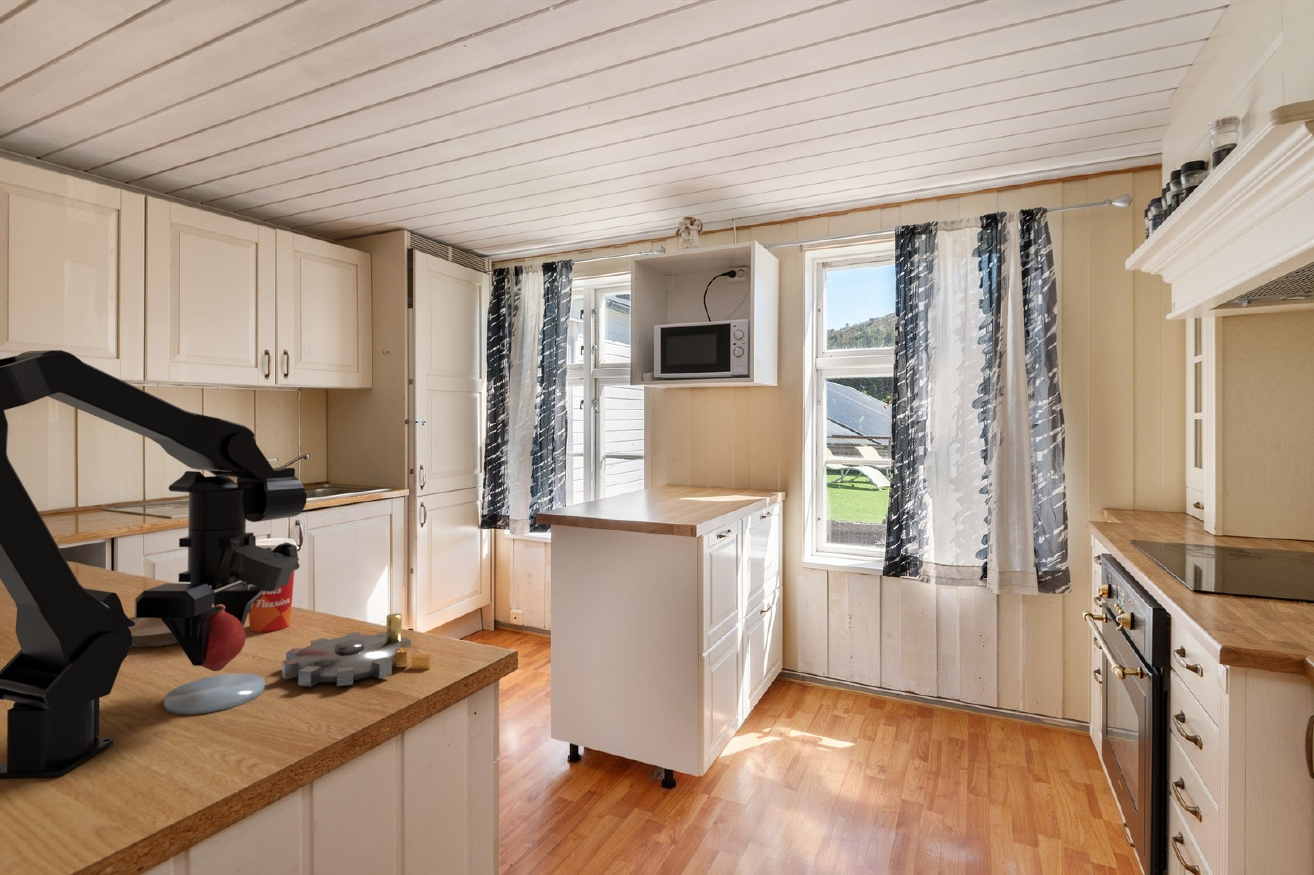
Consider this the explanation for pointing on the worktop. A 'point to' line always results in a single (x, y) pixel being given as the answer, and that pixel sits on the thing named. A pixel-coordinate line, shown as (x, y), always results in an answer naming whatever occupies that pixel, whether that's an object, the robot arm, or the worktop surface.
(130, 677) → the worktop surface
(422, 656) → the wooden toy brick
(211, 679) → the coaster
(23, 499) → the robot arm
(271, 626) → the paper cup
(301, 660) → the sprocket
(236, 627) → the onion
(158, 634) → the saucer
